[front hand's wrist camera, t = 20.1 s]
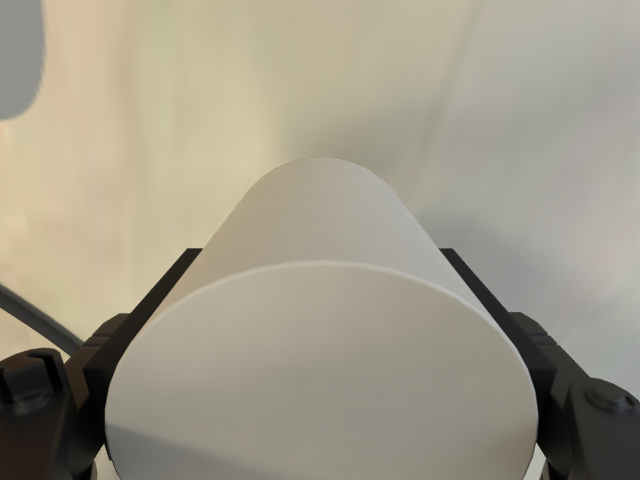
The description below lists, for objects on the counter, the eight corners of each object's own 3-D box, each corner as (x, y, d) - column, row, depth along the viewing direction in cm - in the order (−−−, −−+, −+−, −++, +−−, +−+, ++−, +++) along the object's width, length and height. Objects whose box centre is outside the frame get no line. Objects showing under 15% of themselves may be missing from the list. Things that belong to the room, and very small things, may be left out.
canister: (444, 202, 16) (638, 366, 6) (362, 345, 19) (407, 612, 9) (268, 124, 15) (167, 175, 5) (207, 289, 18) (67, 526, 8)
